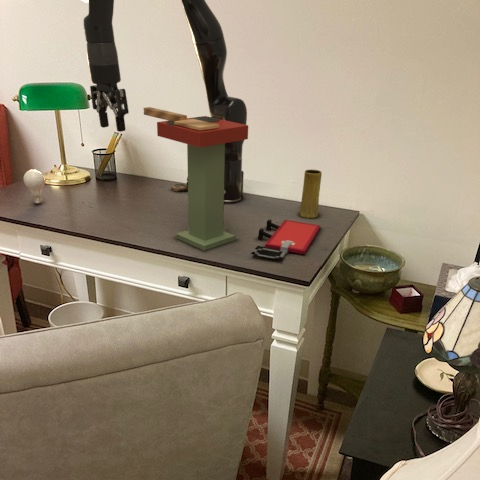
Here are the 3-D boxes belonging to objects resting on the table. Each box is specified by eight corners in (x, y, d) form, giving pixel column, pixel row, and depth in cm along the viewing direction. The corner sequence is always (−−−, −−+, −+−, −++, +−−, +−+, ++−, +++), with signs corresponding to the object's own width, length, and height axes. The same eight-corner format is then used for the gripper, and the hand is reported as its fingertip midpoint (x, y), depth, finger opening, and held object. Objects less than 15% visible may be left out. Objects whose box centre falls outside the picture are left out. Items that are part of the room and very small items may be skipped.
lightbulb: (41, 207, 169) (36, 173, 163) (23, 205, 170) (17, 171, 164) (51, 201, 174) (46, 168, 169) (34, 199, 175) (28, 166, 170)
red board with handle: (243, 256, 140) (298, 266, 136) (244, 246, 138) (299, 256, 135) (273, 222, 165) (319, 229, 161) (273, 213, 163) (321, 221, 160)
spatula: (137, 115, 143) (136, 108, 143) (156, 113, 148) (155, 106, 147) (200, 130, 128) (199, 123, 127) (219, 127, 132) (219, 120, 131)
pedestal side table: (161, 233, 153) (156, 121, 137) (205, 221, 163) (205, 115, 148) (201, 251, 142) (201, 132, 126) (245, 236, 153) (249, 124, 137)
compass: (174, 186, 194) (173, 166, 190) (194, 188, 193) (194, 168, 189) (167, 192, 187) (166, 172, 184) (188, 194, 186) (188, 174, 182)
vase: (320, 214, 173) (325, 170, 166) (314, 219, 168) (319, 175, 161) (302, 211, 175) (307, 168, 168) (296, 216, 170) (300, 172, 163)
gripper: (131, 62, 130) (139, 130, 139) (102, 59, 139) (111, 123, 148) (104, 65, 126) (114, 135, 134) (76, 62, 135) (87, 127, 143)
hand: (113, 129), depth 141 cm, fingers open, 8 cm apart
